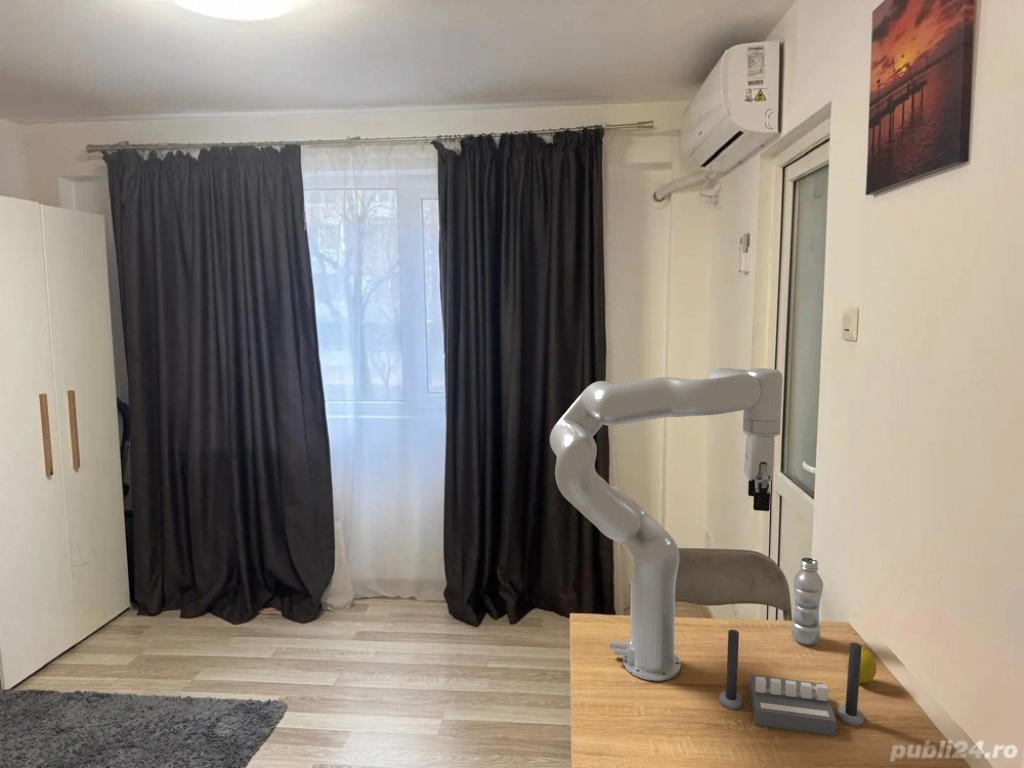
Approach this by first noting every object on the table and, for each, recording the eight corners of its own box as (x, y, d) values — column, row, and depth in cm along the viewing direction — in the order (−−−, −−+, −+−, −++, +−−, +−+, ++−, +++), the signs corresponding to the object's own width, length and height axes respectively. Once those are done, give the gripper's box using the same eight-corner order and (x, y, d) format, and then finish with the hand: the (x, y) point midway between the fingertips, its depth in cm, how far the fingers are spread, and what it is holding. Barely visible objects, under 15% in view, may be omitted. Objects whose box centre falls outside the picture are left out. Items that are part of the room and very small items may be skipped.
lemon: (879, 692, 132) (881, 656, 131) (849, 689, 133) (852, 653, 132) (869, 676, 138) (872, 641, 136) (842, 673, 139) (844, 639, 138)
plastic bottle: (818, 636, 154) (822, 556, 151) (821, 650, 148) (826, 568, 145) (789, 631, 156) (793, 553, 153) (791, 646, 150) (795, 564, 147)
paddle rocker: (755, 692, 127) (755, 679, 127) (754, 689, 128) (754, 676, 128) (827, 701, 124) (828, 688, 124) (826, 698, 125) (826, 685, 125)
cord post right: (841, 724, 122) (846, 650, 120) (835, 710, 127) (839, 637, 125) (866, 727, 122) (872, 652, 119) (859, 713, 126) (864, 640, 124)
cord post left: (720, 708, 128) (722, 636, 126) (718, 694, 132) (721, 625, 130) (743, 711, 127) (746, 639, 125) (741, 697, 131) (744, 627, 129)
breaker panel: (755, 724, 123) (756, 709, 122) (748, 687, 134) (749, 673, 134) (835, 736, 119) (836, 720, 119) (821, 696, 131) (822, 682, 130)
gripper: (739, 418, 147) (736, 490, 149) (747, 434, 130) (744, 515, 133) (774, 419, 145) (770, 492, 148) (787, 435, 129) (783, 517, 131)
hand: (758, 503), depth 140 cm, fingers open, 9 cm apart
